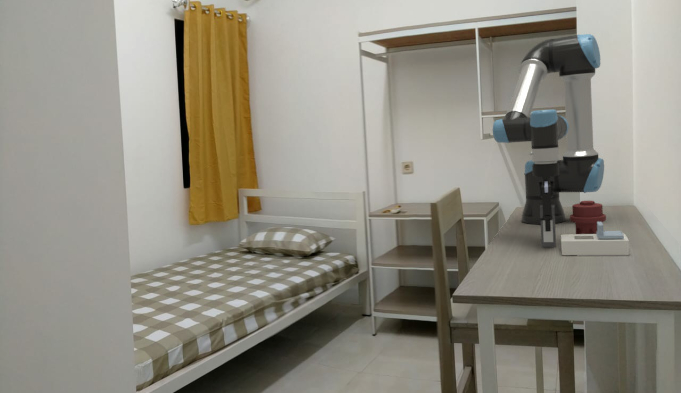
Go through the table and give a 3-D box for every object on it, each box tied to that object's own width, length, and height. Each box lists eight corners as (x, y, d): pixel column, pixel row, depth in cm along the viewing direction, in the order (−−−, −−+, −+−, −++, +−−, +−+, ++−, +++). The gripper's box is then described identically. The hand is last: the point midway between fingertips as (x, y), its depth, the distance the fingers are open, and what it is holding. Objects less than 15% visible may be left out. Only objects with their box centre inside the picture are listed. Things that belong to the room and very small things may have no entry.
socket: (561, 248, 180) (560, 234, 180) (625, 247, 175) (624, 233, 174) (561, 255, 171) (561, 241, 171) (629, 255, 165) (628, 240, 165)
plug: (541, 244, 187) (539, 198, 186) (555, 244, 186) (554, 198, 184) (541, 247, 184) (539, 200, 182) (555, 247, 182) (554, 200, 181)
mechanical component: (602, 238, 189) (610, 244, 180) (568, 239, 191) (573, 246, 182) (601, 198, 188) (608, 202, 178) (566, 200, 190) (572, 204, 180)
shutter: (596, 233, 175) (596, 221, 175) (621, 233, 173) (620, 220, 173) (598, 238, 169) (597, 225, 168) (623, 238, 167) (623, 225, 166)
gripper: (533, 160, 192) (536, 234, 195) (531, 165, 174) (534, 246, 177) (558, 159, 190) (561, 233, 192) (559, 164, 172) (562, 246, 175)
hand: (548, 239), depth 185 cm, fingers open, 6 cm apart
